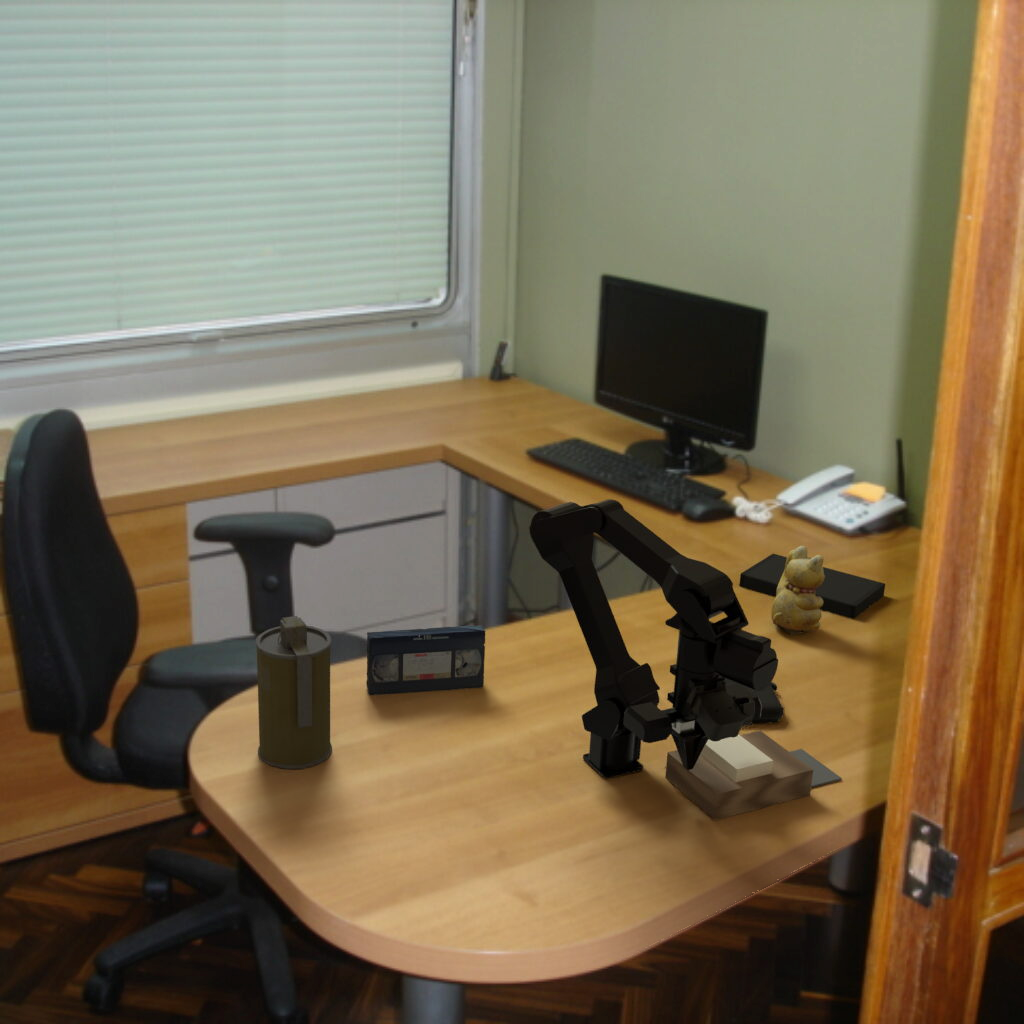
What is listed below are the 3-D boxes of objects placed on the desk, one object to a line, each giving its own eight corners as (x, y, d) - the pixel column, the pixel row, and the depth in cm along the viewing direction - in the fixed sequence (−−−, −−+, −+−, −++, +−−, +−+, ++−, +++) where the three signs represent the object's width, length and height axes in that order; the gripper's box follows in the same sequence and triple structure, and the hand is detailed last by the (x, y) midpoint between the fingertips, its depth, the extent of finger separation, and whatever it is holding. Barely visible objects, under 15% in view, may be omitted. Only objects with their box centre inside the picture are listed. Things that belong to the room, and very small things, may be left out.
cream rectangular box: (735, 782, 185) (737, 769, 184) (697, 751, 192) (698, 738, 191) (771, 773, 187) (773, 760, 187) (732, 743, 195) (733, 730, 194)
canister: (250, 739, 198) (247, 612, 191) (320, 728, 202) (319, 603, 195) (268, 776, 189) (265, 644, 182) (341, 764, 193) (341, 634, 186)
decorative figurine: (828, 634, 241) (839, 554, 236) (795, 644, 237) (805, 563, 232) (789, 614, 249) (798, 537, 244) (756, 623, 244) (764, 545, 239)
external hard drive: (853, 621, 248) (855, 606, 247) (738, 588, 261) (740, 573, 260) (883, 597, 259) (885, 583, 258) (771, 567, 272) (773, 553, 271)
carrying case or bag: (792, 727, 209) (769, 683, 223) (794, 709, 208) (771, 666, 222) (723, 727, 208) (704, 682, 222) (725, 709, 207) (706, 666, 221)
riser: (714, 820, 183) (717, 794, 182) (665, 777, 193) (667, 752, 192) (810, 795, 190) (813, 769, 189) (757, 754, 200) (760, 730, 199)
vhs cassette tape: (367, 696, 212) (368, 637, 209) (365, 687, 215) (366, 629, 212) (484, 689, 216) (486, 632, 213) (481, 681, 219) (483, 624, 216)
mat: (804, 789, 191) (804, 787, 191) (764, 759, 199) (765, 757, 199) (841, 779, 194) (841, 777, 194) (801, 750, 202) (801, 748, 202)
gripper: (672, 703, 170) (662, 813, 175) (793, 677, 178) (780, 783, 183) (625, 666, 179) (617, 771, 184) (742, 643, 187) (731, 744, 193)
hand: (688, 768), depth 186 cm, fingers closed
